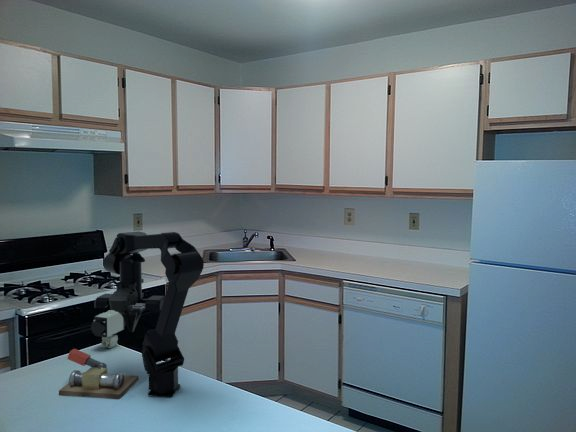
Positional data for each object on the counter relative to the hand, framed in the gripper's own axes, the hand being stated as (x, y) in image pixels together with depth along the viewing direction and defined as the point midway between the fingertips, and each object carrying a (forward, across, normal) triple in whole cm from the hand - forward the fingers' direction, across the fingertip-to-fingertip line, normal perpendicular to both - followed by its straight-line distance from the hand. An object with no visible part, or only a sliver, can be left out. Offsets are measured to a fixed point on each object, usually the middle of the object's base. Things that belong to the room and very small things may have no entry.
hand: (131, 332), depth 126 cm
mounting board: (+12, -5, -9) cm, 16 cm away
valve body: (+11, -4, -11) cm, 16 cm away
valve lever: (+8, -4, -7) cm, 11 cm away
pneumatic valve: (+12, -17, +19) cm, 28 cm away
